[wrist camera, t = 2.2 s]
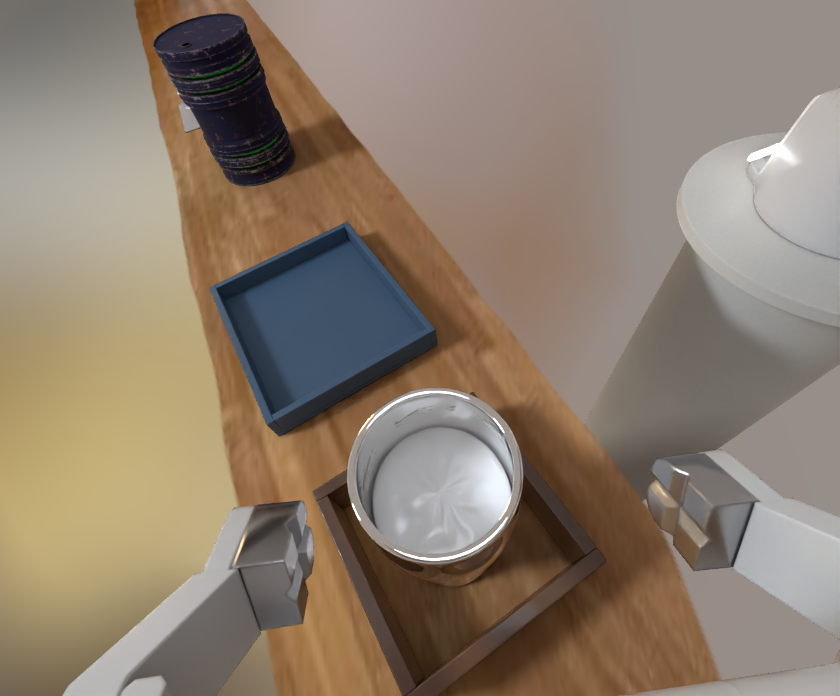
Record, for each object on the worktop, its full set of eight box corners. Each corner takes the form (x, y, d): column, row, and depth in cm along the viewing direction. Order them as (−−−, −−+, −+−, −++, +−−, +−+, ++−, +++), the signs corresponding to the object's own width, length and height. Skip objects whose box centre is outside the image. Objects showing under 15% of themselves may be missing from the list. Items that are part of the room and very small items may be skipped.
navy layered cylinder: (242, 142, 59) (181, 15, 46) (306, 142, 57) (259, 10, 45) (211, 186, 54) (133, 55, 41) (280, 187, 52) (220, 51, 39)
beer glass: (408, 605, 26) (348, 592, 13) (393, 493, 30) (335, 401, 17) (517, 581, 26) (559, 546, 13) (487, 473, 30) (498, 367, 17)
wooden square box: (473, 414, 32) (472, 391, 29) (590, 568, 26) (608, 560, 22) (329, 505, 30) (311, 491, 26) (420, 702, 23) (411, 716, 20)
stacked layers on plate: (178, 105, 68) (157, 67, 63) (231, 88, 69) (214, 50, 65) (185, 132, 62) (162, 94, 58) (242, 113, 64) (224, 74, 59)
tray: (352, 238, 45) (347, 221, 43) (437, 345, 36) (435, 329, 34) (221, 302, 42) (208, 287, 40) (279, 436, 33) (266, 425, 31)
